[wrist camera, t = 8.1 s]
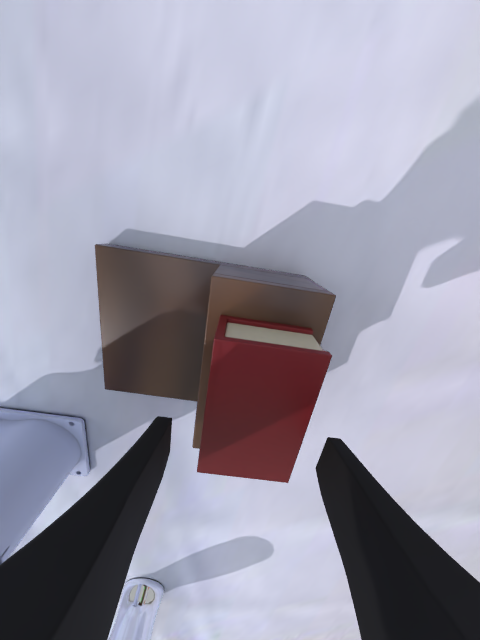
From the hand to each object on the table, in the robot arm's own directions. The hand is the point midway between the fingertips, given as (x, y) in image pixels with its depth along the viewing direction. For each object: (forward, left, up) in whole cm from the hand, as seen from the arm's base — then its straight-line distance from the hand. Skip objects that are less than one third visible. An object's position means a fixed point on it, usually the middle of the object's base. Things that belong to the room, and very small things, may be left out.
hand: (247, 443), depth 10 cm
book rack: (-4, +1, -10) cm, 10 cm away
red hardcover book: (0, +1, -4) cm, 4 cm away
